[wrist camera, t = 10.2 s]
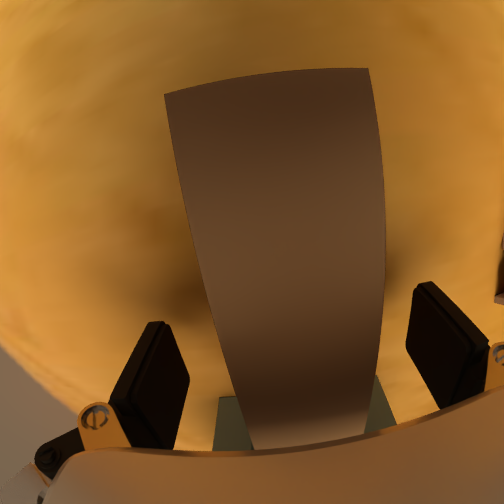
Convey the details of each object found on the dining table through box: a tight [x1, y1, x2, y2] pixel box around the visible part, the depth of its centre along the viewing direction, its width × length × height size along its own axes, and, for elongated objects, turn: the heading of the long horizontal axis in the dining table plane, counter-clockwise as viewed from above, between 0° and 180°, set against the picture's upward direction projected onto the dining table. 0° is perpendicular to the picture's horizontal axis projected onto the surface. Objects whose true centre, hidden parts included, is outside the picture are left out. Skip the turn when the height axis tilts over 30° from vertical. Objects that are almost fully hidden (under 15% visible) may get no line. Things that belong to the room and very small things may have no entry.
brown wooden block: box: [164, 68, 386, 450], centre depth 9 cm, size 17×4×8 cm, turn 9°
